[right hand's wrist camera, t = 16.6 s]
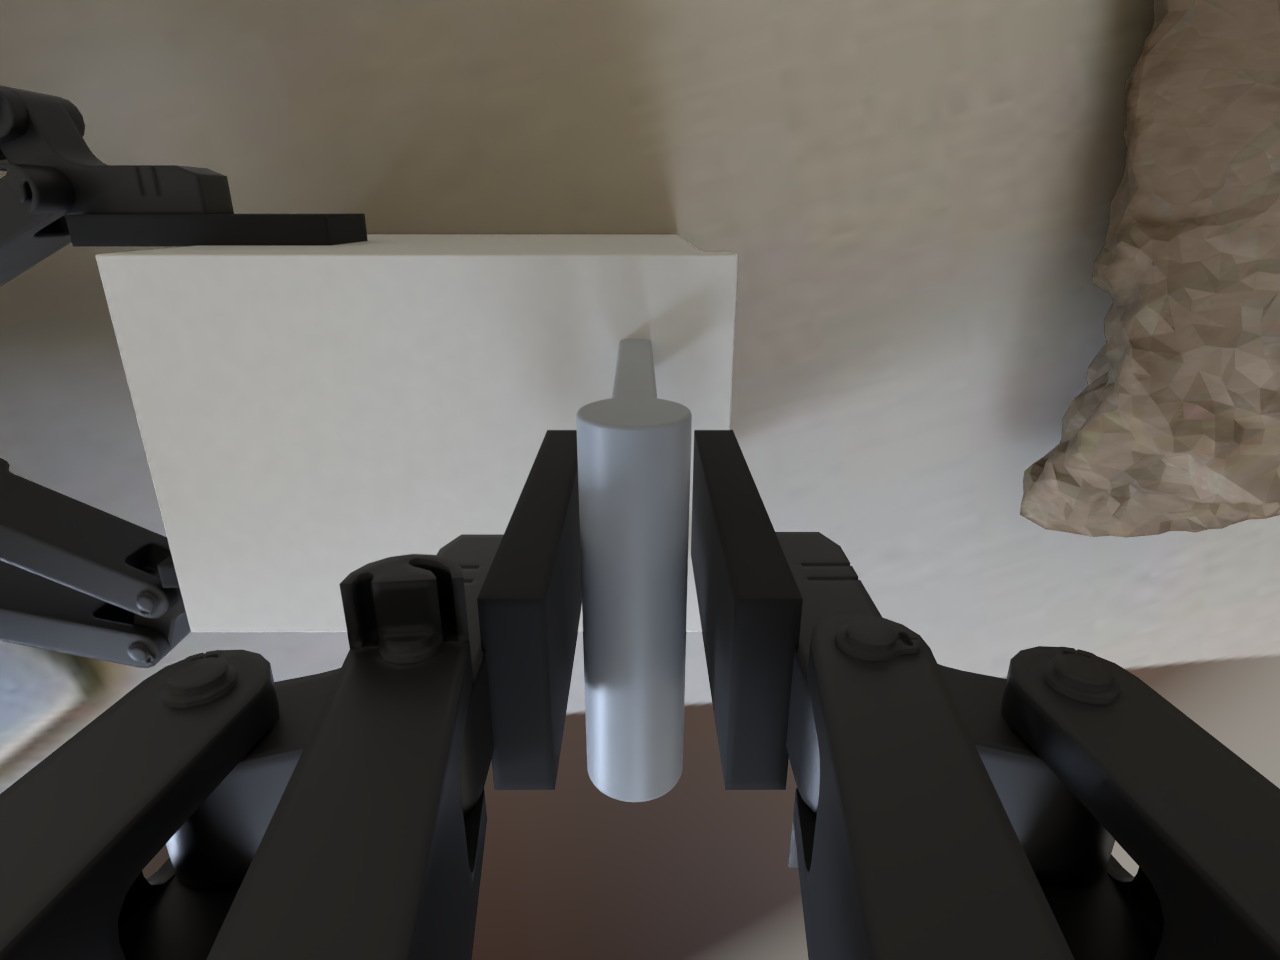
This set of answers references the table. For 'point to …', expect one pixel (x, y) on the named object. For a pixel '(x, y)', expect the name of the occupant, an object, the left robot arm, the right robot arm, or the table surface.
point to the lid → (435, 437)
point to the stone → (1184, 294)
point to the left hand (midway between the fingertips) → (371, 406)
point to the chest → (479, 244)
